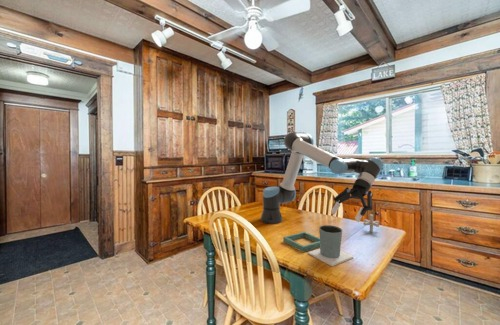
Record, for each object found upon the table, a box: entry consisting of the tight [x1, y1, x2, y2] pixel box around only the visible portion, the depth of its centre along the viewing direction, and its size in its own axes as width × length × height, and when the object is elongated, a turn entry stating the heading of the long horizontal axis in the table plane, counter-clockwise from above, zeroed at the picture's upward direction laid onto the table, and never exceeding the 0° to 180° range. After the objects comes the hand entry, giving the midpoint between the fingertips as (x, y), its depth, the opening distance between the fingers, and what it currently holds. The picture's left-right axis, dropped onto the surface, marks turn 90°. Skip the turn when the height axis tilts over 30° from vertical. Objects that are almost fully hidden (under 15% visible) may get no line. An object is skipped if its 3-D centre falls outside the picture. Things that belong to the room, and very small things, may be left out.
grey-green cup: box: [318, 224, 343, 258], centre depth 104 cm, size 10×10×12 cm
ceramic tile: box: [307, 247, 354, 267], centre depth 104 cm, size 14×14×1 cm
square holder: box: [282, 231, 320, 253], centre depth 119 cm, size 15×15×2 cm
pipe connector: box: [362, 214, 380, 232], centre depth 135 cm, size 10×10×10 cm
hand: (343, 216), depth 108 cm, fingers open, 13 cm apart
